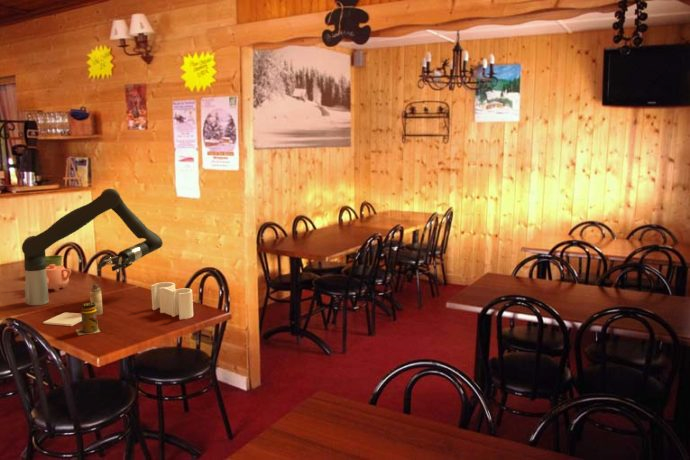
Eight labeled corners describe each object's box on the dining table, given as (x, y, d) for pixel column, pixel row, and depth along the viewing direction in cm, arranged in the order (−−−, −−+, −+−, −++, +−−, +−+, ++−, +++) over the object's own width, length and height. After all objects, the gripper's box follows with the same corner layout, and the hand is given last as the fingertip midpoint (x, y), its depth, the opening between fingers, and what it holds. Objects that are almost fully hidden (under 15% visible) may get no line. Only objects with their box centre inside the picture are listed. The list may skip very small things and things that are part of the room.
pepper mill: (89, 314, 263) (87, 285, 261) (95, 311, 268) (93, 282, 266) (98, 315, 262) (96, 285, 260) (104, 312, 267) (102, 283, 265)
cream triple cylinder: (198, 315, 264) (197, 290, 262) (180, 320, 256) (178, 294, 254) (168, 304, 280) (167, 280, 278) (150, 309, 273) (149, 284, 271)
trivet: (43, 323, 251) (43, 322, 250) (64, 313, 264) (64, 312, 264) (71, 326, 248) (71, 324, 248) (91, 316, 261) (91, 314, 261)
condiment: (100, 332, 241) (98, 304, 239) (78, 335, 237) (76, 308, 235) (97, 327, 247) (95, 300, 245) (75, 330, 243) (73, 303, 241)
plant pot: (67, 273, 339) (66, 255, 337) (58, 278, 327) (56, 259, 325) (47, 273, 338) (46, 254, 336) (37, 278, 327) (35, 259, 325)
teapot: (43, 295, 294) (41, 269, 292) (31, 288, 305) (29, 264, 303) (75, 288, 306) (73, 264, 304) (62, 283, 317) (60, 259, 315)
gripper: (118, 246, 285) (92, 258, 271) (140, 250, 280) (115, 262, 266) (120, 260, 288) (95, 272, 274) (142, 264, 282) (118, 277, 268)
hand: (105, 267), depth 270 cm, fingers open, 8 cm apart
